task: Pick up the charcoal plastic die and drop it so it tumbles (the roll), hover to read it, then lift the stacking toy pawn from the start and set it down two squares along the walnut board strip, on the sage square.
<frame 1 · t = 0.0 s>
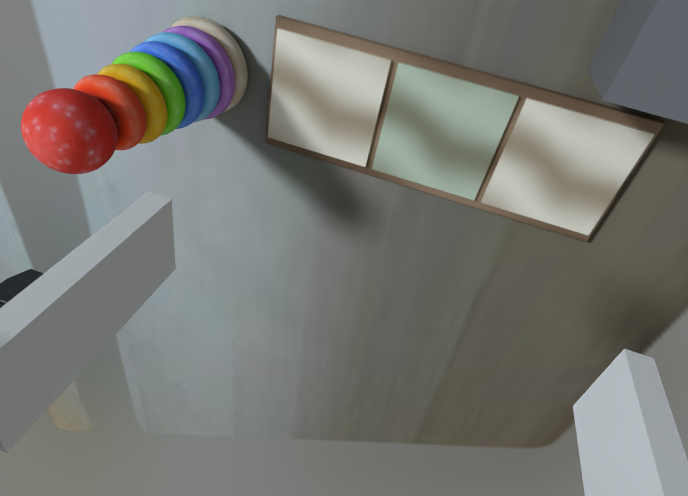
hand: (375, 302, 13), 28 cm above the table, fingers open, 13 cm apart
board: (439, 132, 39), on the table
die: (666, 30, 31), on the table
stacking toy: (211, 63, 41), on the table
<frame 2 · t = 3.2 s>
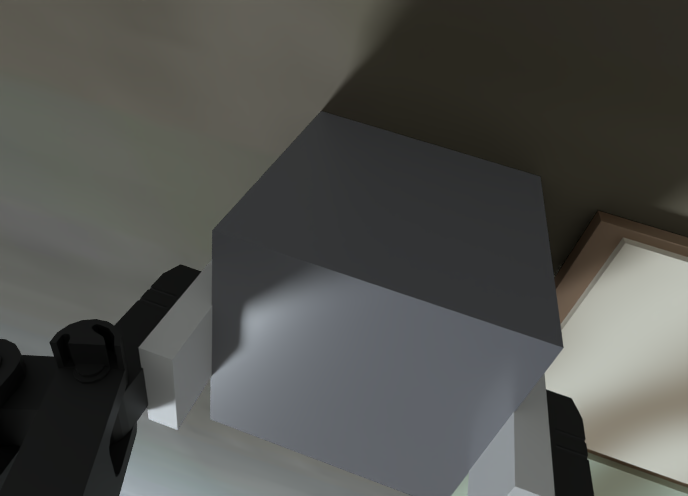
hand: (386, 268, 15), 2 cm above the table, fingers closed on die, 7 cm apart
board: (549, 492, 23), on the table
die: (398, 232, 16), on the table, touching gripper
when the fingers open (15 cm above the table, at t = 4.4 s): die drops 13 cm, on the table.
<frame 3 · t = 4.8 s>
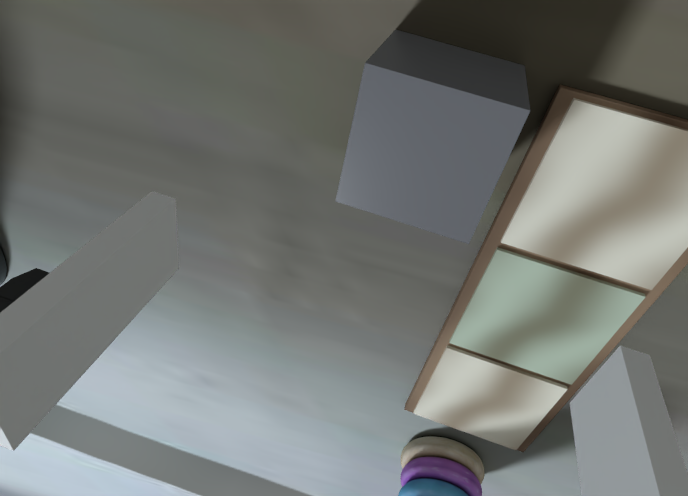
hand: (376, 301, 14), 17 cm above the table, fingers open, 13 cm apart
board: (536, 313, 33), on the table
die: (438, 109, 27), on the table
stacking toy: (442, 454, 46), on the table
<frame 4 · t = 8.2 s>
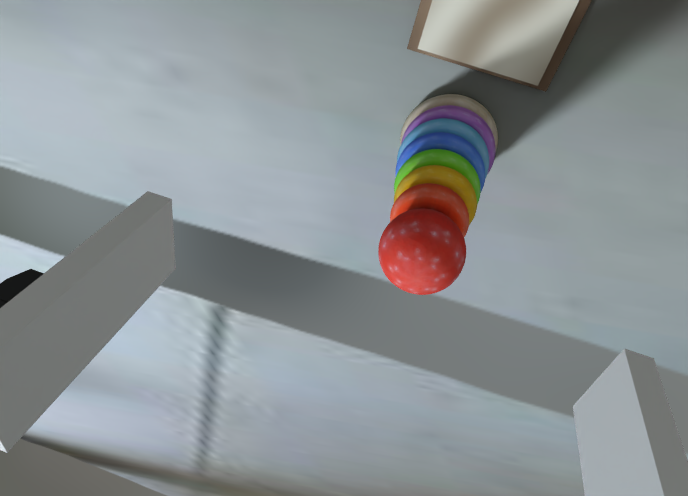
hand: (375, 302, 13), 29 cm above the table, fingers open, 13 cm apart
stacking toy: (449, 136, 40), on the table
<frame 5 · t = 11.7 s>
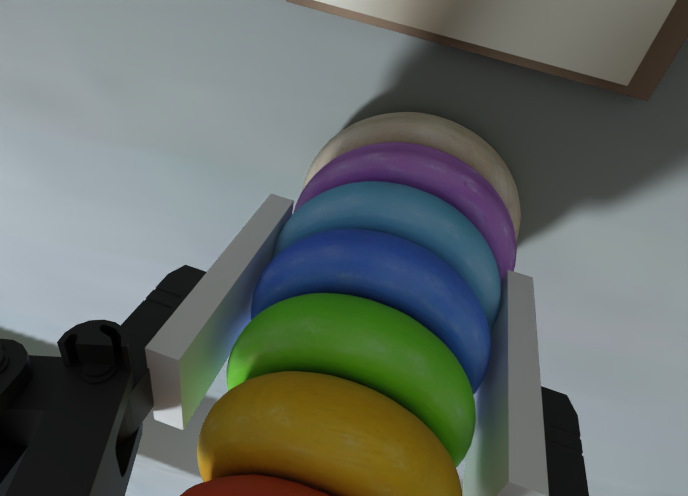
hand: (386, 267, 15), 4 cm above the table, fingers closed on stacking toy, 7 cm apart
stacking toy: (410, 202, 18), on the table, touching gripper
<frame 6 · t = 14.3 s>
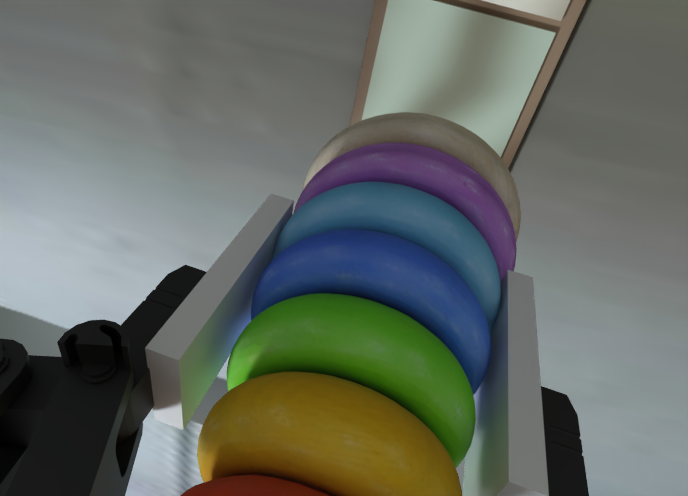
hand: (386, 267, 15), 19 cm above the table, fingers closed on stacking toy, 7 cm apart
board: (446, 88, 29), on the table
stacking toy: (410, 203, 18), point 15 cm above the table, touching gripper
when the fingers open (5 cm above the table, at t = 17.0 s): stacking toy stays where it is, resting on board.
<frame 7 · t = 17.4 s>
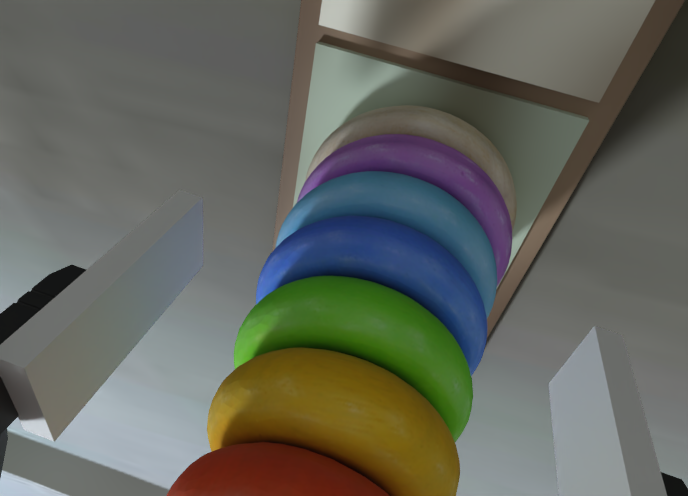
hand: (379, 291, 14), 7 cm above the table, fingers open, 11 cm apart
board: (413, 187, 19), on the table
stacking toy: (409, 194, 19), point 1 cm above the table, touching board
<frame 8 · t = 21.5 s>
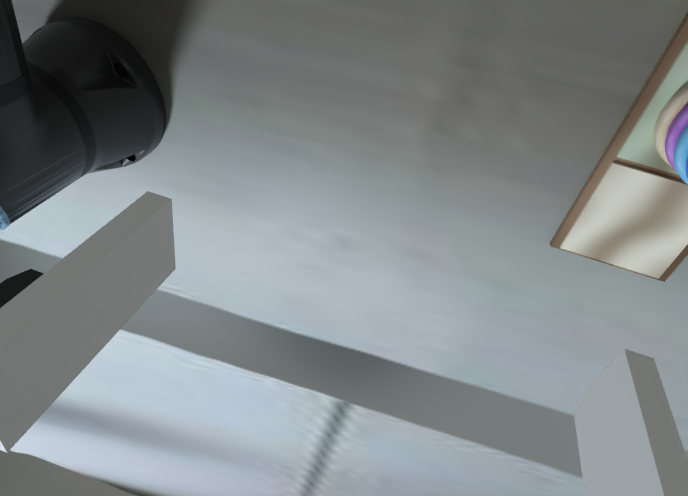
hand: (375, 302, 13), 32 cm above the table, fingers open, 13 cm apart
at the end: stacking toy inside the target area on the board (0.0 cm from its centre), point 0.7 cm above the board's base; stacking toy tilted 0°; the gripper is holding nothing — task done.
